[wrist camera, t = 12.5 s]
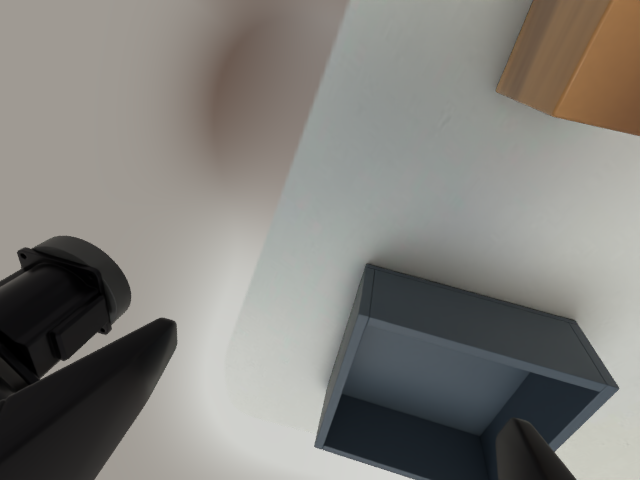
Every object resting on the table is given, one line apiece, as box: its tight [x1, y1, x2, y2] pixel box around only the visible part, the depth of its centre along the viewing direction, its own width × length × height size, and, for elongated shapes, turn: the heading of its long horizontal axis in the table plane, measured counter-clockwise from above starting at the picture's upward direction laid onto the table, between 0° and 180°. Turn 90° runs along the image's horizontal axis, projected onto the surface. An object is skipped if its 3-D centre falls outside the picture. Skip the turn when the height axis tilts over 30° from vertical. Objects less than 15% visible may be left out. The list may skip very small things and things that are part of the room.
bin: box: [314, 264, 619, 480], centre depth 23 cm, size 13×13×5 cm
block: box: [496, 0, 640, 136], centre depth 12 cm, size 4×4×7 cm
